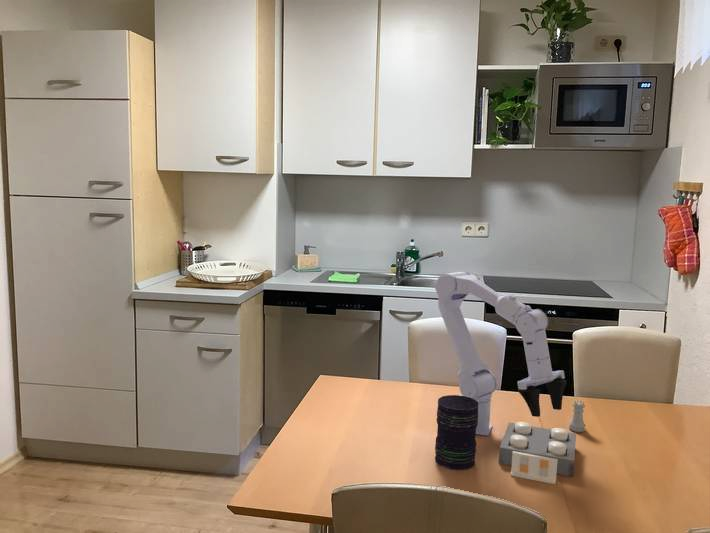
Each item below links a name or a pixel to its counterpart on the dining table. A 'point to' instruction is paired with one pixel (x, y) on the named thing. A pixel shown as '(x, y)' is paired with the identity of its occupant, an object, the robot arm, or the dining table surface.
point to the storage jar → (456, 432)
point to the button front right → (557, 448)
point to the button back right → (559, 434)
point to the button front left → (518, 441)
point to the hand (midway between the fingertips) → (546, 412)
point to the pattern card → (534, 467)
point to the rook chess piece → (577, 417)
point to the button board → (539, 448)
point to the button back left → (523, 428)
